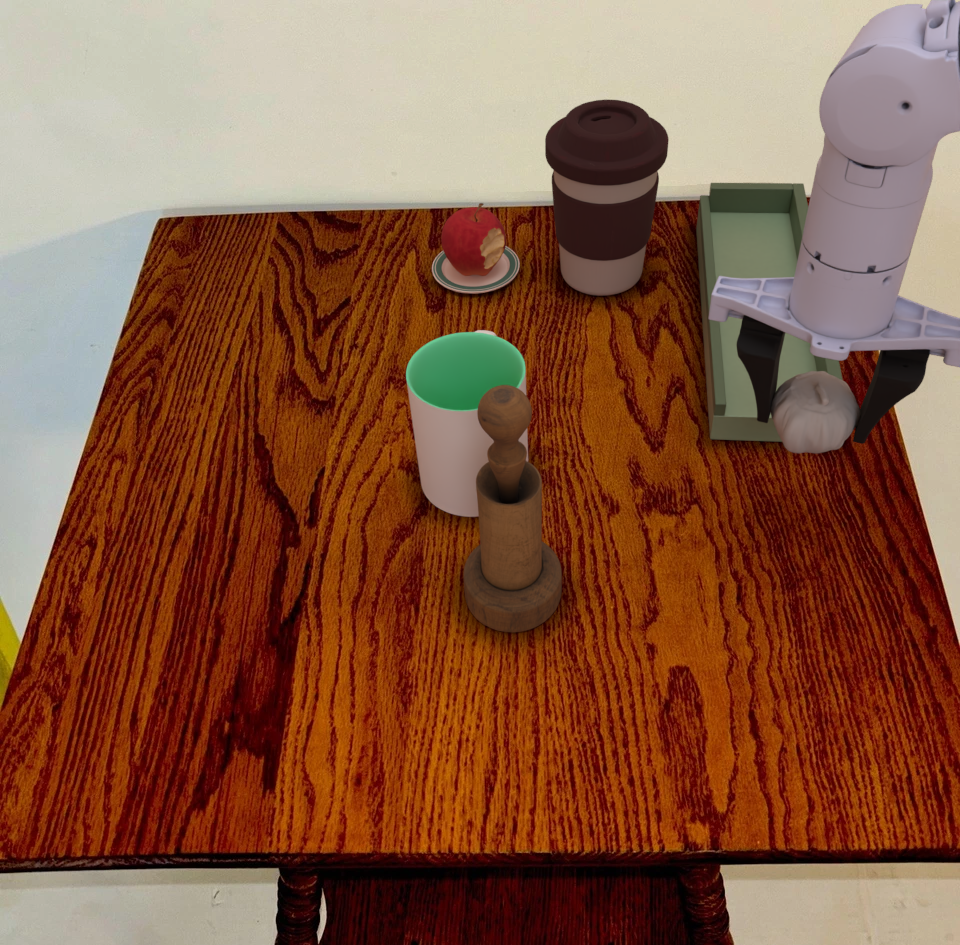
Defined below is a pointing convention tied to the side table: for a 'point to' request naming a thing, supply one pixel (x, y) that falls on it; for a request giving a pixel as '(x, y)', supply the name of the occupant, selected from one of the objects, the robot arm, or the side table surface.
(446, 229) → the apple
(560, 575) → the mortar and pestle
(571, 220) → the coffee cup
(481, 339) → the mug
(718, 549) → the side table surface
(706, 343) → the tray
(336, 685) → the side table surface
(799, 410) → the garlic
